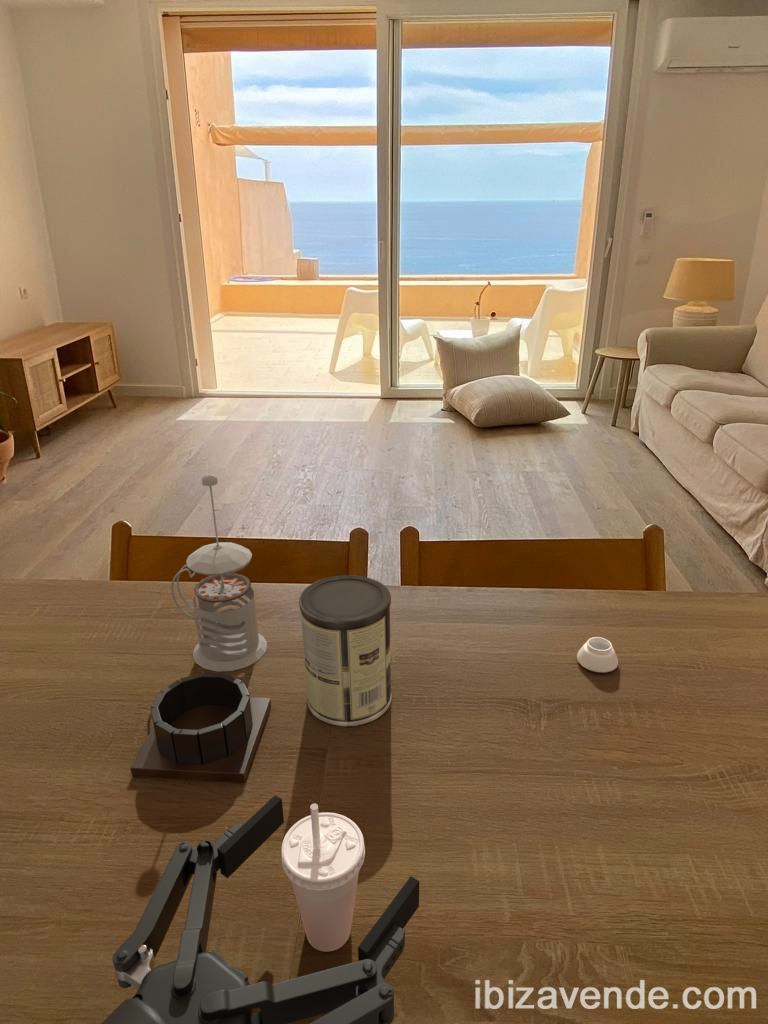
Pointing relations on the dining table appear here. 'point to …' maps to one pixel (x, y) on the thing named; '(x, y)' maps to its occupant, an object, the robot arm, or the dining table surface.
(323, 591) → the coffee can
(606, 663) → the upturned white bowl
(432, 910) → the dining table surface
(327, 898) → the smoothie
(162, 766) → the cup holder
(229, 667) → the french press
